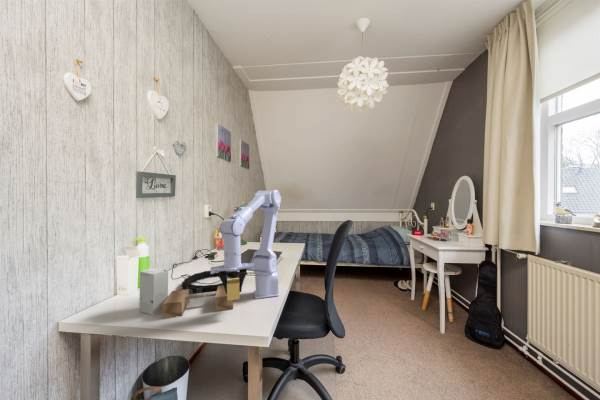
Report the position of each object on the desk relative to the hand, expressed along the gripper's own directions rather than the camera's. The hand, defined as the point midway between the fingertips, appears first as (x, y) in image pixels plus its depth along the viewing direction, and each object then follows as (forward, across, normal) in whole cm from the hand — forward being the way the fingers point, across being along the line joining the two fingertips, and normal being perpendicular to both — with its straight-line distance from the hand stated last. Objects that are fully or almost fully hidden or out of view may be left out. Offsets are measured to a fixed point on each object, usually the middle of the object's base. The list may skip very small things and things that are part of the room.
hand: (233, 291), depth 82 cm
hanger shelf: (+8, -12, +10) cm, 17 cm away
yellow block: (+1, 0, 0) cm, 1 cm away
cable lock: (+8, -11, +34) cm, 37 cm away
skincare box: (+8, -29, +12) cm, 32 cm away
